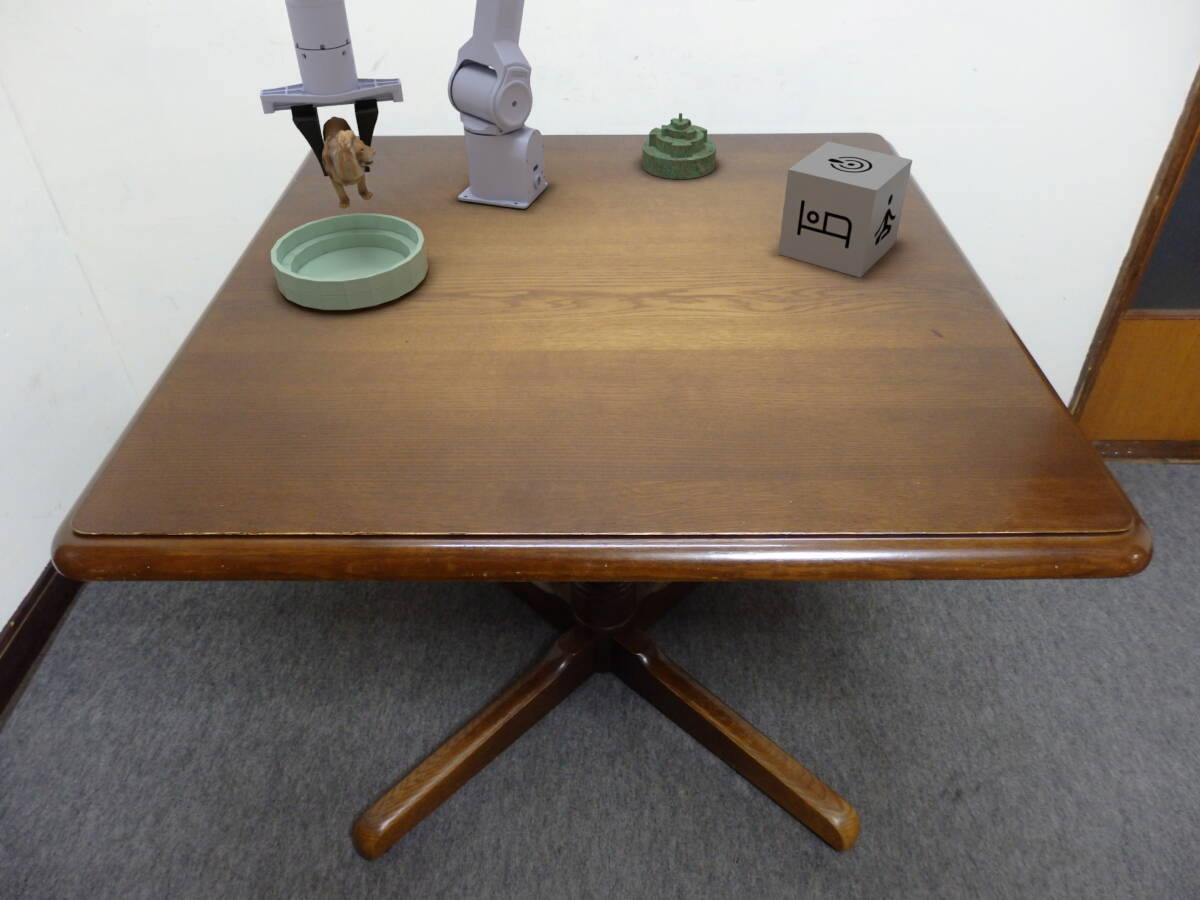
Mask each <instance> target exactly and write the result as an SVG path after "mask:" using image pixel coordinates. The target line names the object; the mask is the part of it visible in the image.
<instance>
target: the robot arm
mask: <svg viewBox="0 0 1200 900" xmlns="http://www.w3.org/2000/svg"><path fill="white" fill-rule="evenodd" d="M284 2H285V7H286V12H287V17H288V22H289V26H290V31H291V36H292V40H293V45H294V51H295V55H296V61H297V64H298V65H297V66H298V69H299V75H300V79H301V83H296V84H295V83H294V84H290V85H284V86H280V87H279V86H278V87H274V88H265V89H260V93H259V99H260V101H261V106H262V110H263V114H264V115H269V114H274V113H276V112H279V111H290V112H291V120H292V122H293V125H294V126H295V127H296V129H297V130H298V131H299V132H300V134H301V135H302V136H303V138H304V139H305V141H306V142H307V143H308V145H309V147H310V148H311V150H312V152H313V154H314V155H315V157H316V159H317V161H318V163H319V166H320V168H321V171H322V173H323V177H329V176H328V174H327V172H326V170H325V168H324V165H323V160H322V152H323V149H324V143H325V142H324V138H323V132H322V127H321V122H320V117H319V112H318V108H321V107H322V108H326V107H335V106H347V105H353V108H354V116H355V121H356V126H357V131H358V137H359V140H361V141H362V142H363V143H364V144H365V145H366V146H369V147H371V148H372V141H373V136H374V131H375V128H376V124H377V122H378V118H379V114H380V113H379V111H380V110H379V105H378V103H380V102H393V103H404V95H403V88H402V82H401V78H399V77H398V78H364V77H363V78H362V77H361V78H359V77H358V73H357V66H356V60H355V55H354V49H353V43H352V37H351V33H350V32H351V31H350V25H349V20H348V14H347V9H346V3H345V0H284ZM524 7H525V0H476V3H475V11H474V20H473V27H472V36H471V37H470V38H469V39H468V40H467V41H466V42H465V43H464V44H462V46H461V47H459V49H458V51H457V57H456V63H455V65H454V68H453V70H452V72H451V73H450V76H449V78H448V82H447V95H448V97H447V98H448V99H449V102H450V104H451V106H452V108H454V109H455V111H456V112H458V113H459V118H460V122H461V123H462V125H463V133H464V134H463V135H464V142H465V143H464V145H465V153H466V163H467V170H468V182H469V186H467V188H466V189H464V190H463V191H462V192H461V193H460V194H459V195H458V196H457V199H458V200H459V201H462V202H471V203H476V204H484V205H490V206H491V205H492V206H499V207H506V208H507V207H508V208H514V209H520V210H521V209H523V210H524V209H527V208H529V206H530V205H531V204H532V203H533V202H534V201H535V200H536V199H537V198H538V196H540V194H541V193H542V192H543V191H545V189H546V188H547V187H548V185H549V184H548V182H547V181H546V168H545V149H544V148H545V147H544V139H543V136H542V133H541V130H539V129H537V128H533V127H529V126H527V125H525V123H526V121H527V120H528V118H529V117H530V115H531V112H532V108H533V103H534V101H533V99H534V98H533V91H532V86H531V75H532V66H531V64H530V63H529V61H528V59H527V57H526V55H524V53H523V51H522V50H521V48H520V45H519V43H520V36H521V30H522V22H523V15H524ZM365 173H371V167H368V166H365Z"/></svg>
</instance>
